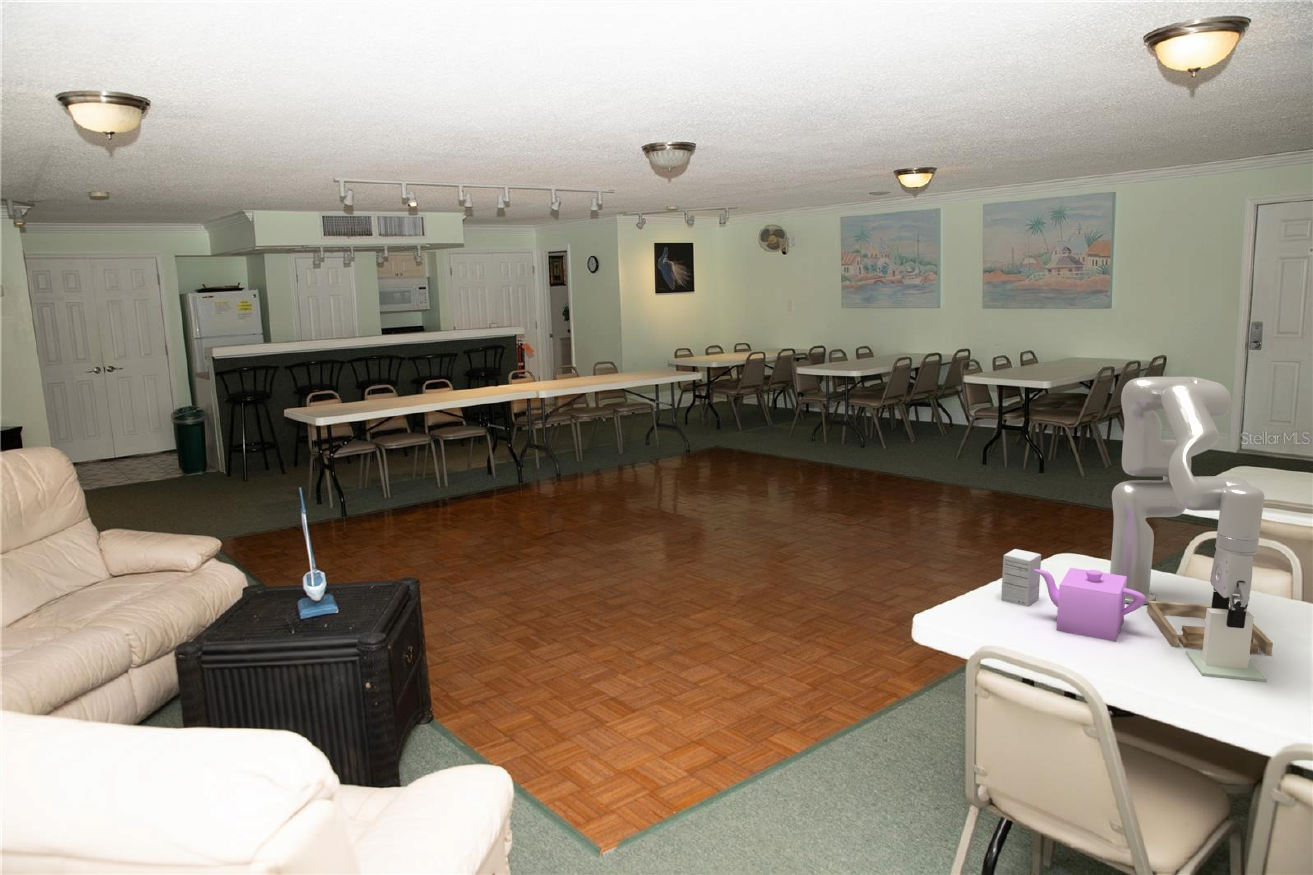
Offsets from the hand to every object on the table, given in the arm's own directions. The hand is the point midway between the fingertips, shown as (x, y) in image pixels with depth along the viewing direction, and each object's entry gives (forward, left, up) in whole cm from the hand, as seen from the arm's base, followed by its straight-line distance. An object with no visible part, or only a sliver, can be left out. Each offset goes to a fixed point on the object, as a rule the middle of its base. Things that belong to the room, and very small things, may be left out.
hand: (1227, 618), depth 191 cm
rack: (+2, +19, -11) cm, 22 cm away
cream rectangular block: (0, -1, -10) cm, 10 cm away
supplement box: (-38, +32, -11) cm, 51 cm away
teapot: (-24, +18, -11) cm, 32 cm away
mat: (0, -1, -11) cm, 11 cm away
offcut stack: (+2, +11, -11) cm, 16 cm away
